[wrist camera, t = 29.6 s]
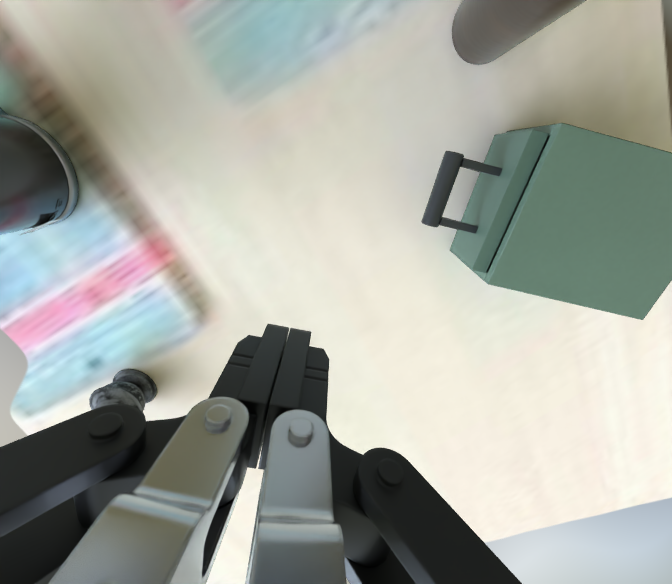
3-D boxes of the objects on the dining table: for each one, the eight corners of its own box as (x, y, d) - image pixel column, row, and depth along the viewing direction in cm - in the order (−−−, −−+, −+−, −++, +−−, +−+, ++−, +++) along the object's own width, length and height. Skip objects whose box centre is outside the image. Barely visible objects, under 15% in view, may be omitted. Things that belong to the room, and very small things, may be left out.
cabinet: (456, 256, 31) (487, 284, 24) (506, 131, 27) (562, 122, 20) (579, 285, 32) (643, 320, 25) (648, 169, 27) (748, 173, 21)
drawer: (404, 239, 30) (417, 257, 24) (443, 120, 26) (468, 111, 20) (568, 278, 31) (614, 303, 26) (630, 170, 27) (699, 174, 22)
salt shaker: (101, 375, 38) (2, 463, 27) (140, 361, 37) (55, 447, 26) (129, 409, 40) (49, 504, 29) (168, 397, 39) (99, 491, 28)
